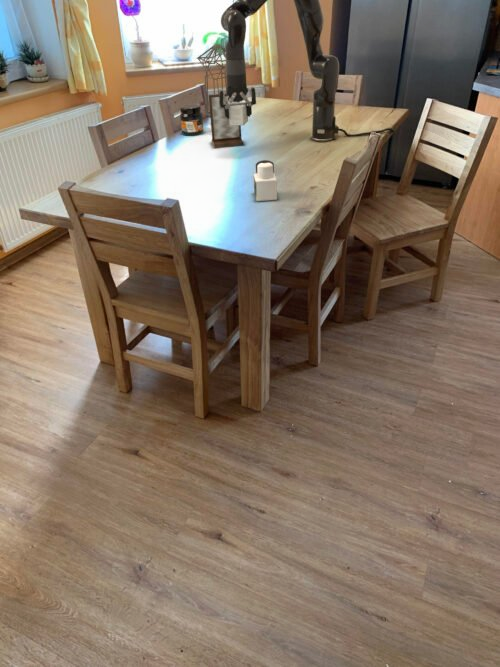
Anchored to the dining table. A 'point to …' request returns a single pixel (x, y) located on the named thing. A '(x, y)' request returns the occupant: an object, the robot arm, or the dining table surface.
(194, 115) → the supplement container
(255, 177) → the medicine bottle
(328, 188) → the dining table surface
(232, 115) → the product box
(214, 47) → the geometric lantern
